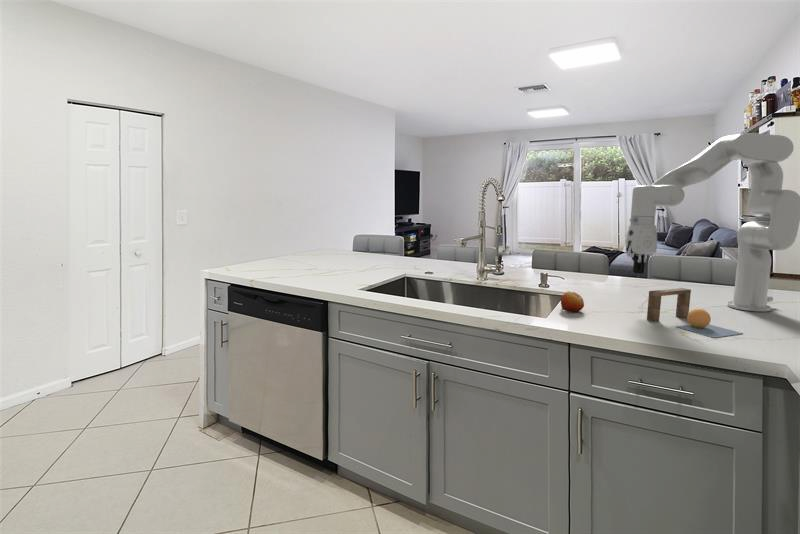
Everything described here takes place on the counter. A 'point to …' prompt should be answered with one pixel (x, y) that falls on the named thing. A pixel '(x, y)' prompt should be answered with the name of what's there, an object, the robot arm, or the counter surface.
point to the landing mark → (711, 331)
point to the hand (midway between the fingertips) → (638, 272)
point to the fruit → (572, 302)
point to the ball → (699, 318)
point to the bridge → (655, 296)
